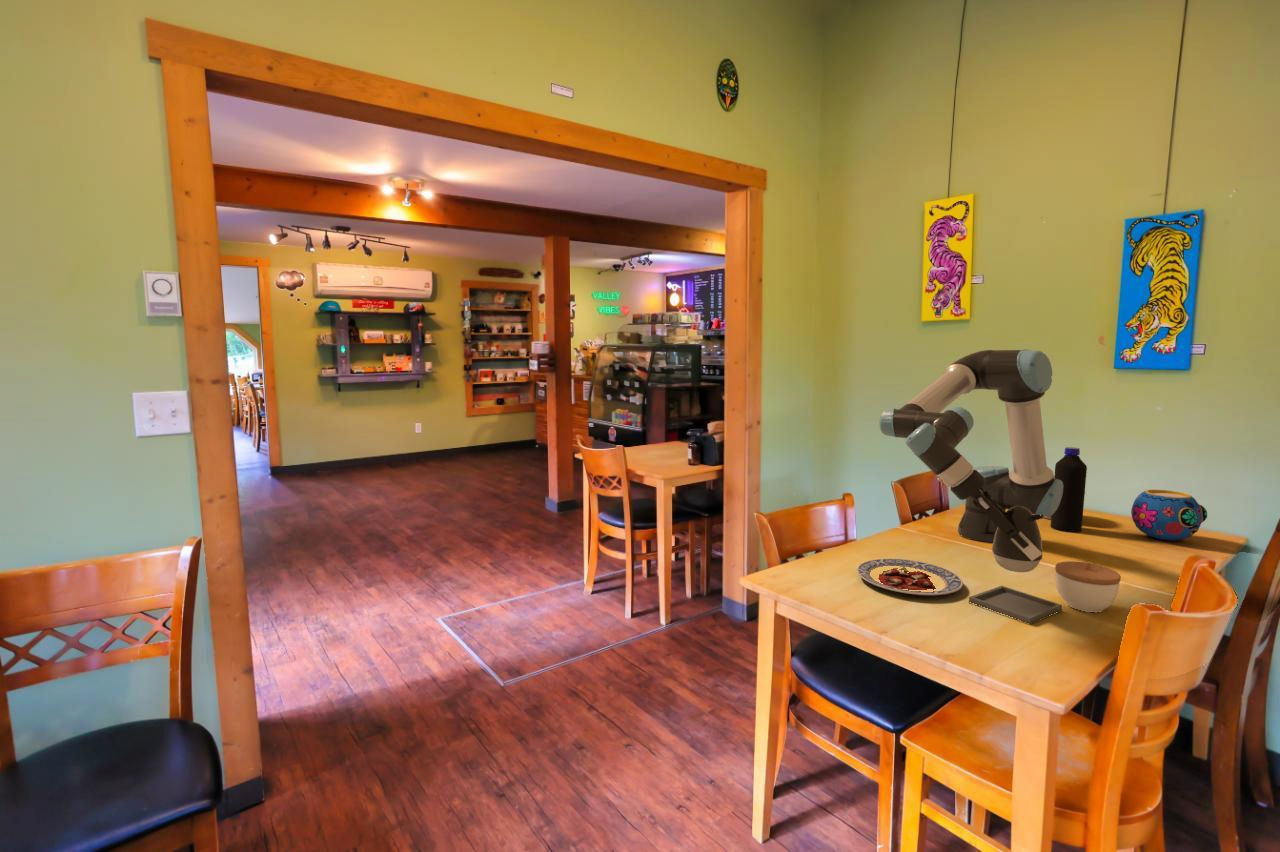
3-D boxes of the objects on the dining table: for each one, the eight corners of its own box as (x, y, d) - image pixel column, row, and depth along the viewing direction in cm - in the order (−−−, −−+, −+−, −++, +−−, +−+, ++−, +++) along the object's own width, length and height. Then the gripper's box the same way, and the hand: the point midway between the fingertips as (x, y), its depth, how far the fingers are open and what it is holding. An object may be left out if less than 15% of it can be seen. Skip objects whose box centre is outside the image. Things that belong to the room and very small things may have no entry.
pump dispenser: (1025, 579, 140) (1030, 513, 138) (981, 565, 149) (985, 503, 147) (1051, 572, 144) (1056, 508, 143) (1007, 559, 154) (1011, 499, 152)
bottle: (1054, 530, 210) (1060, 449, 206) (1047, 524, 218) (1053, 445, 214) (1085, 533, 206) (1092, 450, 203) (1077, 526, 215) (1083, 446, 211)
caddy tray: (968, 602, 151) (969, 597, 150) (1001, 591, 158) (1001, 585, 158) (1029, 624, 139) (1029, 618, 138) (1061, 611, 146) (1062, 604, 146)
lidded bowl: (1130, 614, 144) (1135, 568, 143) (1090, 620, 140) (1094, 574, 139) (1078, 593, 156) (1082, 551, 155) (1040, 599, 152) (1043, 556, 151)
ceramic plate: (969, 608, 148) (970, 596, 148) (855, 594, 157) (856, 583, 156) (955, 572, 172) (956, 562, 172) (857, 561, 181) (857, 551, 180)
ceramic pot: (1186, 550, 189) (1192, 502, 187) (1118, 535, 204) (1123, 491, 202) (1209, 541, 198) (1214, 495, 196) (1142, 527, 213) (1147, 485, 211)
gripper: (946, 479, 161) (1012, 546, 156) (950, 498, 141) (1026, 575, 136) (971, 461, 158) (1038, 528, 154) (978, 477, 138) (1057, 555, 133)
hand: (1033, 550), depth 145 cm, fingers closed on pump dispenser, 10 cm apart
